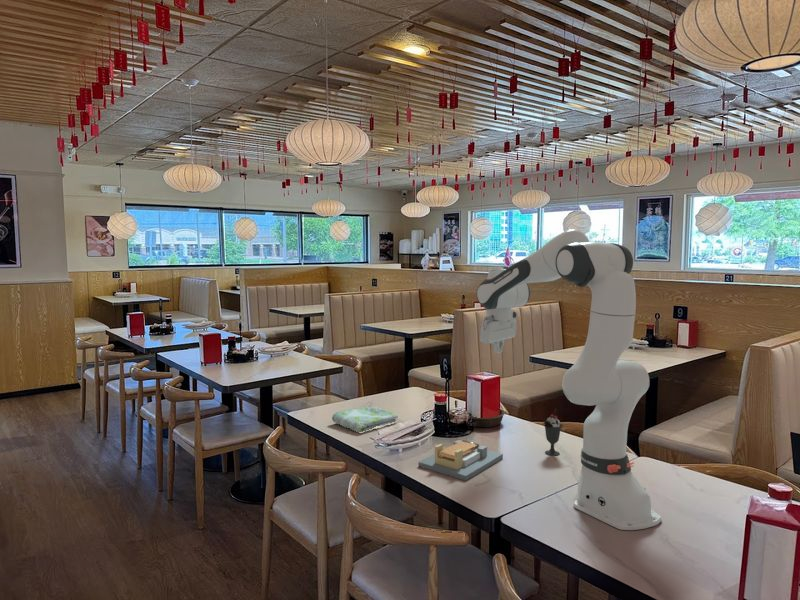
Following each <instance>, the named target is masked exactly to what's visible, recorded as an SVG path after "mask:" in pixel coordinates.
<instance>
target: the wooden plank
mask: <svg viewBox="0 0 800 600" xmlns="http://www.w3.org/2000/svg"><path fill="white" fill-rule="evenodd" d="M478 447H480V444H479V443H477V442H476V443H475V442H472V441H468V440H461V442H459V443H457V444H455V445H454V444H452V445H450V446H448V447H446V448H443V450H441V451H439V455H440V456H444V457H448V458H451V459H455V451H457V450H459V449H462V450H463V455H465V454H467V453H469V452H471V451H473V450H475V449H477V448H478Z"/></svg>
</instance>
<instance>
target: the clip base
mask: <svg viewBox="0 0 800 600" xmlns="http://www.w3.org/2000/svg"><path fill="white" fill-rule="evenodd" d="M461 441H462V440H461V439H458V440H456V441H453V445H455V444H457V443H459V442H461ZM443 446H444V445H443V443H439V444H437V445H434V454H432V455H429V456H427V457H426V458H424V459H422V460H419V461H417V462H418V467H419V466H421V467H420V468H422V467H424V468H423V469H425V468H427V469H426V470H429V471H432V470H433V472H435V471H436V473H438V472H439V474H442V475H445V474H446V475H445V476H448V475H449V476H450V477H453V478H456V479H459V480H462V481H469V479H471V478H473V477H474V476H476V475H478V474H479V473H481V472H483V471H484V470H486V469H487V468H489V467H491V466H493V465H495V464H496V463H498V462H499V461H501V460H502V459H504V457H503V455H504V454H503V453H501V452H496V451H492V450H488V446H485V445H481V446H480V445H479V447H478V448H477V449H475V450H473V451H471V452H469V453H467V454H465V455H463V450H462V449H459V450H457V451H455V459H451V458H448V457H444V456H440V455H439V451H441V450H443V449H444V447H443Z"/></svg>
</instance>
